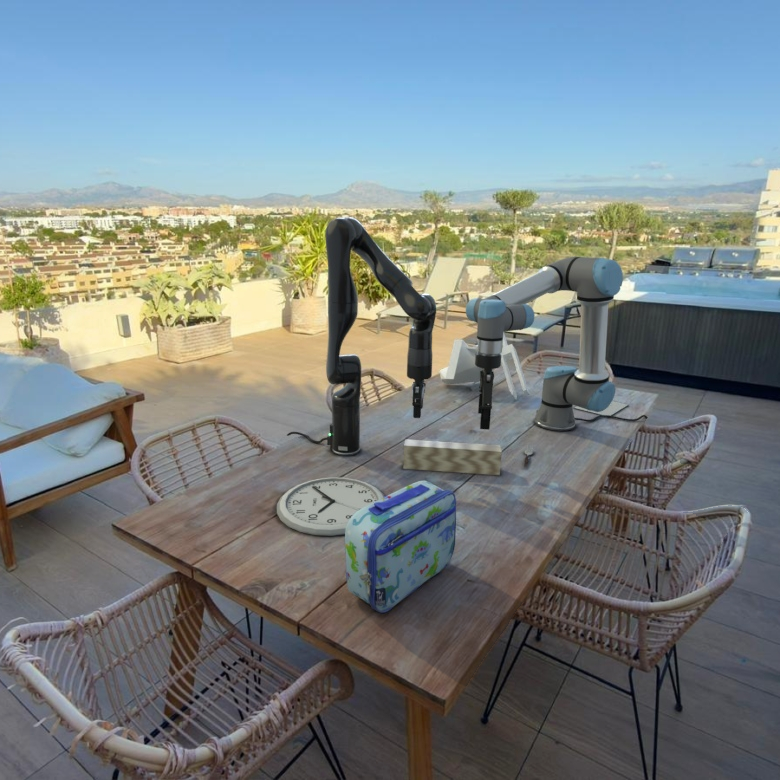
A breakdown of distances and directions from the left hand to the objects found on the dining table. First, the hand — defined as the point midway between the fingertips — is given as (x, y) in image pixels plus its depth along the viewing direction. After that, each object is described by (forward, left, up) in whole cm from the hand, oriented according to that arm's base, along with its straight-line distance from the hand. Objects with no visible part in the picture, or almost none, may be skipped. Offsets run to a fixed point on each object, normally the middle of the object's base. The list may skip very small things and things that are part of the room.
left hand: (418, 412), depth 161 cm
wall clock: (-8, -34, -18) cm, 39 cm away
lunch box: (+24, -52, -18) cm, 61 cm away
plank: (+10, +5, -18) cm, 21 cm away
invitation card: (+40, +96, -18) cm, 105 cm away
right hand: (+18, +9, -2) cm, 20 cm away
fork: (+28, +25, -18) cm, 42 cm away
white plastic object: (-12, +86, -18) cm, 88 cm away
